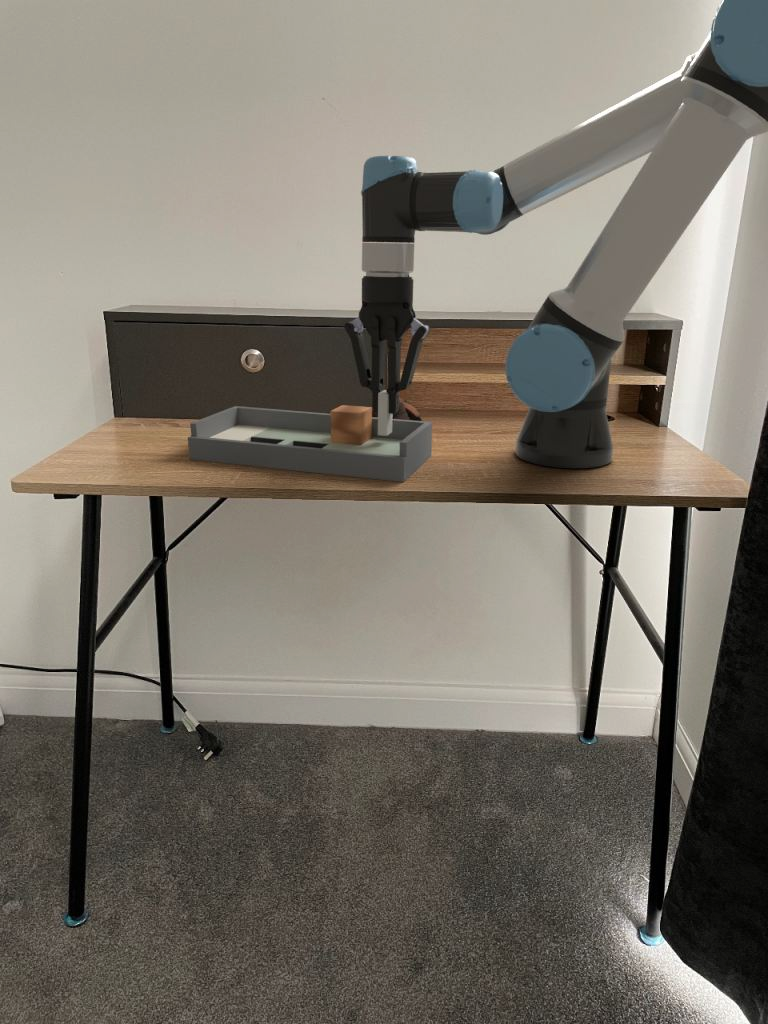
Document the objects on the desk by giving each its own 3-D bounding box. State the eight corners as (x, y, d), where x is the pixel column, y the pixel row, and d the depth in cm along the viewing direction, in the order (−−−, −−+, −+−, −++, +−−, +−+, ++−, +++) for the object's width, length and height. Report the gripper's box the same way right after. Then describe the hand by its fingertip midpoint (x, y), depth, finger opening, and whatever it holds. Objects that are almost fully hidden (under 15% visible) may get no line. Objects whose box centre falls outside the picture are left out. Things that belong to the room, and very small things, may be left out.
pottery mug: (427, 450, 124) (404, 409, 121) (379, 469, 128) (355, 430, 124) (435, 417, 134) (414, 379, 130) (390, 436, 138) (369, 399, 134)
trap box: (431, 455, 118) (432, 422, 117) (403, 482, 105) (404, 444, 103) (237, 437, 129) (235, 406, 127) (189, 459, 115) (186, 424, 114)
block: (371, 438, 119) (371, 407, 117) (361, 445, 114) (360, 413, 113) (342, 435, 120) (342, 405, 119) (331, 442, 116) (330, 411, 114)
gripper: (437, 275, 109) (431, 432, 117) (354, 272, 112) (354, 424, 121) (423, 276, 102) (418, 443, 110) (336, 274, 106) (337, 435, 114)
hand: (385, 433), depth 115 cm, fingers closed
